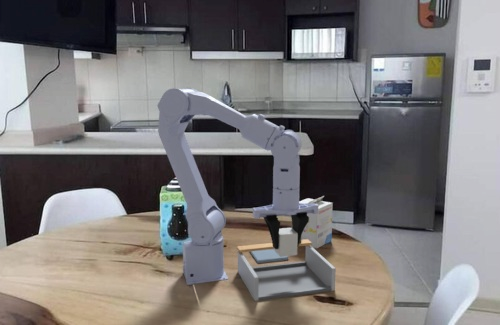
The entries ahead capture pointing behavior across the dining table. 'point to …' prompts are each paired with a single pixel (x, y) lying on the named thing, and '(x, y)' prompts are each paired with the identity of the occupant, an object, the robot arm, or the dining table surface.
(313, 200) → the ink box
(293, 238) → the block
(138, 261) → the dining table surface
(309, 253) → the case
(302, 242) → the bar
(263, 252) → the pad
